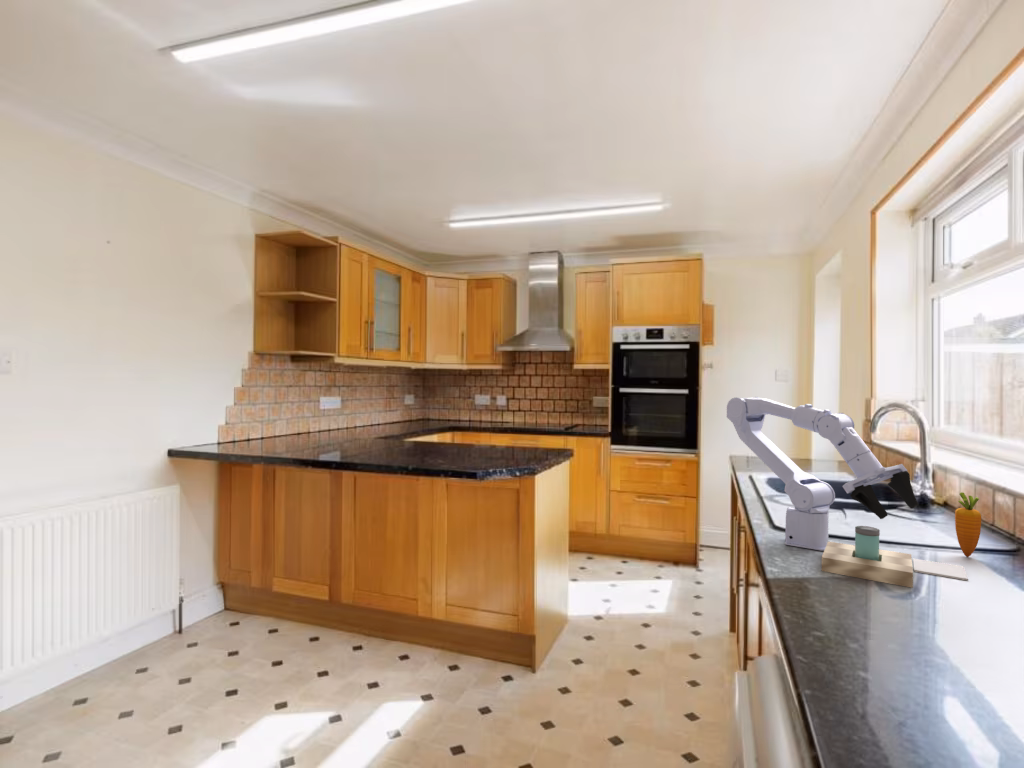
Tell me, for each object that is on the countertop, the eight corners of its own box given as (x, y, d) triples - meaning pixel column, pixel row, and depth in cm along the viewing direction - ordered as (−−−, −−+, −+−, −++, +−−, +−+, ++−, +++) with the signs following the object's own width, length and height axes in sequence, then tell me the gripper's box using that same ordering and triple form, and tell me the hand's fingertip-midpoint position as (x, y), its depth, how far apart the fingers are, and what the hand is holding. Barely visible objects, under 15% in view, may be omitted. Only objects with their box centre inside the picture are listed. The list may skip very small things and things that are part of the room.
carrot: (986, 561, 125) (987, 496, 125) (961, 559, 126) (962, 495, 126) (972, 554, 130) (973, 491, 129) (948, 552, 131) (950, 490, 130)
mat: (914, 571, 118) (914, 569, 118) (913, 560, 125) (913, 558, 125) (968, 580, 113) (968, 578, 113) (963, 568, 120) (963, 566, 120)
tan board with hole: (821, 570, 118) (821, 557, 118) (827, 553, 129) (828, 541, 129) (912, 587, 109) (912, 572, 109) (911, 567, 120) (911, 554, 120)
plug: (853, 570, 119) (854, 529, 118) (855, 564, 122) (855, 524, 122) (878, 574, 116) (879, 532, 116) (879, 568, 120) (879, 528, 120)
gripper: (839, 460, 121) (879, 515, 114) (895, 441, 123) (939, 494, 116) (826, 473, 127) (863, 526, 120) (880, 454, 129) (920, 506, 122)
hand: (899, 511), depth 118 cm, fingers open, 7 cm apart
